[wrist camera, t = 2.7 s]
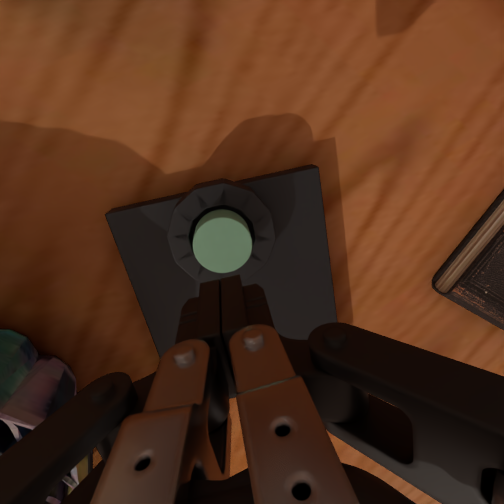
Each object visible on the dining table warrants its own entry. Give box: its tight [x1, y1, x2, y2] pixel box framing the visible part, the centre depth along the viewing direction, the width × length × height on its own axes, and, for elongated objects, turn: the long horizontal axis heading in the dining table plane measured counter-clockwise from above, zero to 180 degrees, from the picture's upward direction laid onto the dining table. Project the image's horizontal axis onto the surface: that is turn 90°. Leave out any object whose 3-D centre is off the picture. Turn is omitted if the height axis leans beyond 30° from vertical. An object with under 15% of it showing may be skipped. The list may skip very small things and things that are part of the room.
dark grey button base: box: [105, 164, 337, 359], centre depth 22 cm, size 14×13×3 cm
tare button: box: [193, 209, 252, 273], centre depth 18 cm, size 3×3×2 cm
